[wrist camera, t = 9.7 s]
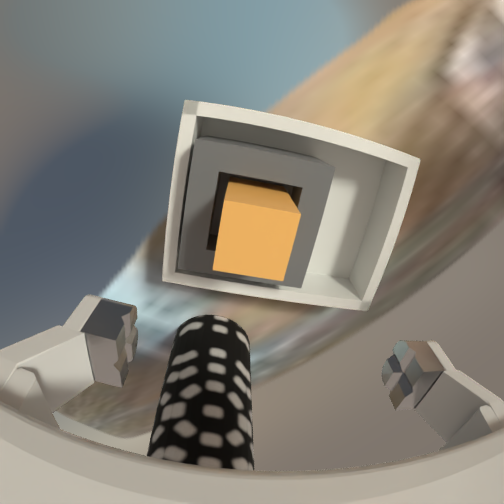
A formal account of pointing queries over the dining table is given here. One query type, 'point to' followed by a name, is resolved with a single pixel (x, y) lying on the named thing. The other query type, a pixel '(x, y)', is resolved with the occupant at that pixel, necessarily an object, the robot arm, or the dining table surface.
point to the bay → (342, 218)
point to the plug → (256, 230)
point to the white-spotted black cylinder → (206, 397)
